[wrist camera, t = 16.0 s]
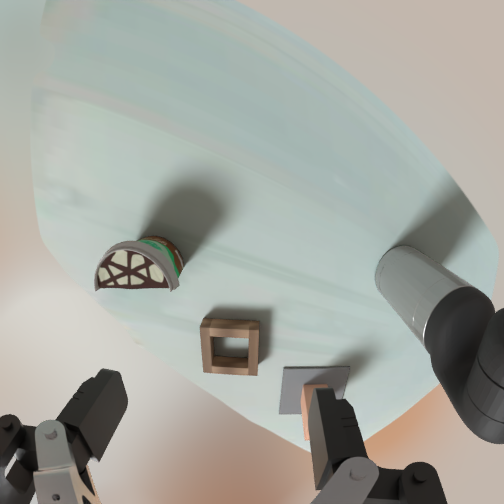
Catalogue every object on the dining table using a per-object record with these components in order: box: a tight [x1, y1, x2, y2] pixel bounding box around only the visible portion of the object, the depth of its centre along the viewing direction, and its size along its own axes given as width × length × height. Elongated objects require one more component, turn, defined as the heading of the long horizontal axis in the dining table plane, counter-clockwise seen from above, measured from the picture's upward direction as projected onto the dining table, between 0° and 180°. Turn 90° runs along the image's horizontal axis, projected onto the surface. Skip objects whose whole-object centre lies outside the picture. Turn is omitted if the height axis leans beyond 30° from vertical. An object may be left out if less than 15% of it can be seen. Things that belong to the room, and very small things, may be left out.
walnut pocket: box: [200, 318, 259, 376], centre depth 46 cm, size 9×9×3 cm
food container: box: [94, 236, 184, 292], centre depth 39 cm, size 12×6×10 cm, turn 93°
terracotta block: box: [300, 384, 328, 440], centre depth 45 cm, size 4×4×10 cm
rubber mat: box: [279, 366, 350, 414], centre depth 50 cm, size 12×12×1 cm
